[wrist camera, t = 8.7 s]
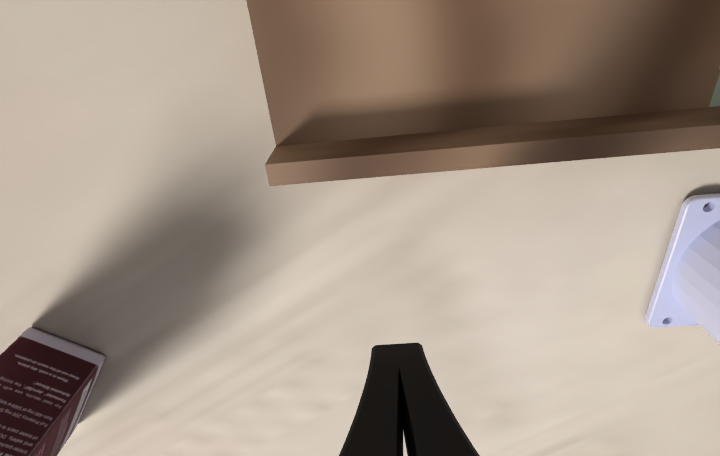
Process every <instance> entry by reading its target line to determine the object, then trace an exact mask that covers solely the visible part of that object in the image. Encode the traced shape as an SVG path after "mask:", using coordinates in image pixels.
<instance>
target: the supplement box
mask: <svg viewBox="0 0 720 456" xmlns="http://www.w3.org/2000/svg"><path fill="white" fill-rule="evenodd" d="M104 360H105V356H104V355H102V354H99V353H97V352H95V351H92V350H90V349H87V348H85V347H82V346H80V345H77V344H75V343H72V342H70V341H67V340H65V339H62V338H59V337H56V336H54V335H51V334H48V333H46V332H43V331H40V330H38V329H35V328H28V329H27V330H26V331H25V332H23V334H22V335H21V336H20V337H19V338H18V339H17V340H16V341H15V342H14V343H12V344H11V345H10V346H9V347H8V348H7V349H6V350H5V351H4V352H3V353H2V354H1V355H0V456H57V454H58V453H59V451H60V450H61V448H62V447H63V445H64V444H65V443H66V441H67V440H68V438H69V437H70V435H71V434H72V433H73V431H74V430H75V428H76V426H77V424H78V422H79V419H80V417H81V415H82V412H83V410H84V408H85V405H86V403H87V400H88V398H89V396H90V393H91V391H92V388H93V386H94V384H95V382H96V379H97V377H98V375H99V372H100V370H101V367H102V365H103V362H104Z"/></svg>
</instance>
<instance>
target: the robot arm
mask: <svg viewBox="0 0 720 456" xmlns="http://www.w3.org/2000/svg"><path fill="white" fill-rule="evenodd" d="M707 203H709V204H708V205H707V206H706V207H704V205H705V204H707ZM703 207H704V208H703ZM645 322H646V323H647V324H648V325H649V326H650V327H653V328H659V327H675V326H692V325H700V326H701V327H702V328H703V329H704V330H705V331H706V332H707V333H708V334H709V335H710V336H711V337H712V338H713V339H714V340H716V341H717V342H718V343H719V344H720V193H716V194H704V195H694V196H691V197H689V198H687V199H686V200H685V201H684V202H683V204H682V206H681V209H680V212H679V215H678V218H677V221H676V224H675V227H674V230H673V233H672V236H671V240H670V243H669V246H668V249H667V252H666V255H665V258H664V261H663V264H662V267H661V270H660V273H659V276H658V279H657V282H656V285H655V288H654V291H653V295H652V298H651V301H650V304H649V307H648V310H647V313H646V316H645ZM403 431H404V437H405V443H406V448H407V454H408V456H479V454H478V453H477V451H476V450H475V448H474V447H473V445H472V444H471V442H470V441H469V439H468V437H467V436H466V434H465V433H464V431H463V429H462V428H461V426H460V425H459V423H458V421H457V419H456V418H455V416H454V414H453V413H452V411H451V409H450V407H449V405H448V403H447V402H446V400H445V398H444V396H443V394H442V392H441V390H440V389H439V387H438V385H437V382H436V380H435V378H434V376H433V374H432V372H431V369H430V367H429V365H428V362H427V360H426V357H425V354H424V351H423V348H422V345H420V344H419V343H407V344H390V345H375V346H374V347H373V348H372V353H371V360H370V366H369V371H368V375H367V379H366V383H365V386H364V390H363V393H362V396H361V399H360V402H359V406H358V409H357V412H356V415H355V417H354V420H353V423H352V425H351V428H350V430H349V433H348V435H347V438H346V441H345V443H344V445H343V448H342V450H341V452H340V455H339V456H403Z"/></svg>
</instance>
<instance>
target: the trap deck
mask: <svg viewBox="0 0 720 456" xmlns="http://www.w3.org/2000/svg"><path fill="white" fill-rule="evenodd" d="M247 5H248V10H249V14H250V19H251V24H252V29H253V34H254V39H255V44H256V49H257V54H258V59H259V64H260V69H261V73H262V78H263V83H264V88H265V93H266V98H267V103H268V108H269V113H270V118H271V123H272V127H273V132H274V137H275V142H276V147H275V149H274V151H273V152H272V154H271V156H270V157H269V159H268V161H267V162H266V164H265V166H266V171H267V175H268V180H269V184H270V186H275V185H287V184H299V183H311V182H323V181H335V180H346V179H358V178H370V177H382V176H394V175H406V174H417V173H429V172H441V171H453V170H465V169H477V168H489V167H500V166H512V165H524V164H536V163H548V162H560V161H572V160H583V159H595V158H607V157H619V156H631V155H643V154H655V153H666V152H678V151H690V150H702V149H714V148H720V69H719V67H720V0H247Z"/></svg>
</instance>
